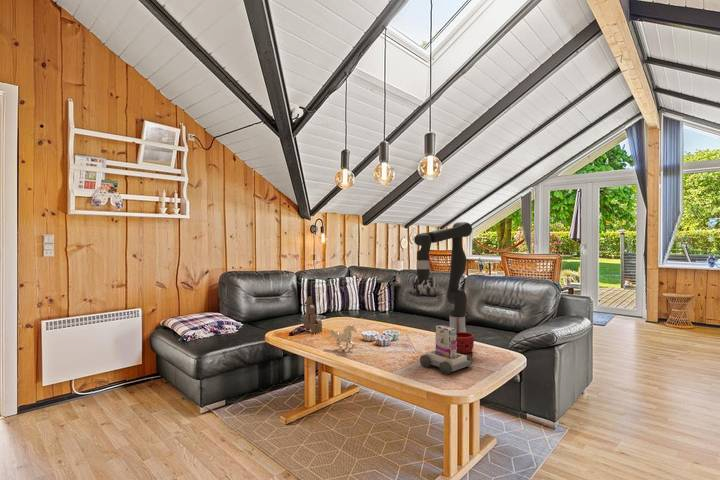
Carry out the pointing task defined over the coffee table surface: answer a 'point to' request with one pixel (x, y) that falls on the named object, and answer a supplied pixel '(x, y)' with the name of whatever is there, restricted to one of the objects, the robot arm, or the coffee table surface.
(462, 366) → the toy car chassis
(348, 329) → the unicorn
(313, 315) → the wooden toy
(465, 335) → the plant pot
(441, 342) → the candy bar box
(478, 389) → the coffee table surface
